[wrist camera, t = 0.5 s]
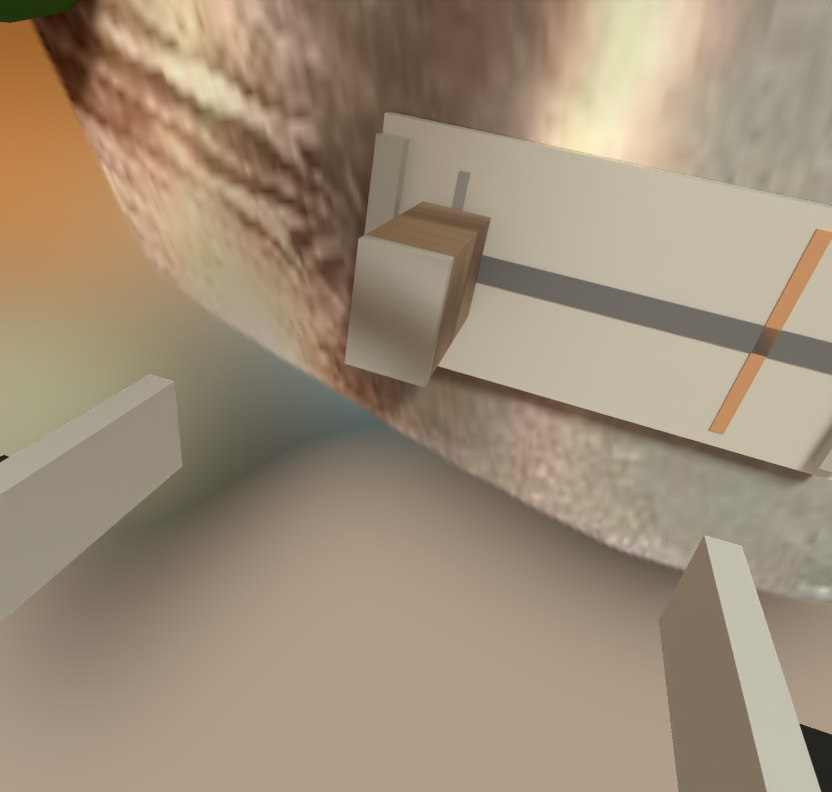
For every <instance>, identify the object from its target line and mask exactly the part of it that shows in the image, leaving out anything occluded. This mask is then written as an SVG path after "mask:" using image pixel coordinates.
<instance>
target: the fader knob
mask: <svg viewBox="0 0 832 792" xmlns="http://www.w3.org/2000/svg"><path fill="white" fill-rule="evenodd" d="M490 220H491V218H490V217H486V216H482V215H478V214H474V213H470V212H465V211H461V210H457V209H453V208H449V207H444V206H440V205H436V204H432V203H428V202H424V201H423V202H421V203H419V204H418V205H416V206H414V207H412V208H411V209H409V210H407V211H405V212H404V213H402V214H400V215H398V216H397V217H395V218H393V219H391V220H390V221H388V222H386V223H385V224H383V225H381V226H379V227H378V228H376V229H374V230H372V231H371V232H369V233H367V234H365V235H364V236H362V237H360V238H359V239H358V248H357V257H356V266H355V275H354V284H353V293H352V301H351V310H350V319H349V328H348V337H347V346H346V355H345V363H344V364H347V365H351V366H354V367H357V368H361V369H364V370H367V371H371V372H374V373H377V374H381V375H384V376H388V377H391V378H394V379H398V380H401V381H404V382H408V383H411V384H414V385H418V386H421V387H425V386H426V384H427V382H428V381H429V379H430V378H431V376H432V374H433V373H434V371H435V369H436V368H437V366H438V365H439V363H440V361H441V360H442V358H443V357H444V355H445V353H446V352H447V350H448V348H449V347H450V345H451V344H452V342H453V340H454V339H455V337H456V335H457V334H458V332H459V331H460V329H461V327H462V326H463V324H464V323H465V321H466V319H467V318H468V315H469V311H470V306H471V302H472V298H473V293H474V289H475V285H476V281H477V276H478V272H479V268H480V263H481V259H482V255H483V250H484V246H485V242H486V237H487V233H488V229H489V225H490Z"/></svg>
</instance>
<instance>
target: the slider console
mask: <svg viewBox="0 0 832 792" xmlns="http://www.w3.org/2000/svg"><path fill="white" fill-rule="evenodd" d="M423 201H424V202H428V203H432V204H436V205H440V206H444V207H449V208H453V209H457V210H461V211H465V212H470V213H474V214H478V215H482V216H486V217H490V218H491V220H490V225H489V229H488V233H487V237H486V242H485V246H484V250H483V255H482V259H481V263H480V268H479V272H478V276H477V281H476V285H475V289H474V293H473V298H472V302H471V306H470V311H469V315H468V318H467V319H466V321H465V323H464V324H463V326H462V327H461V329H460V331H459V332H458V334H457V335H456V337H455V339H454V340H453V342H452V344H451V345H450V347H449V348H448V350H447V352H446V353H445V355H444V357H443V358H442V360H441V361H440V363H439V365H438V366H439V367H443V368H446V369H450V370H453V371H457V372H460V373H464V374H467V375H470V376H474V377H477V378H481V379H484V380H488V381H491V382H495V383H498V384H501V385H505V386H508V387H512V388H515V389H519V390H522V391H526V392H529V393H533V394H536V395H539V396H543V397H546V398H550V399H553V400H557V401H560V402H564V403H567V404H570V405H574V406H577V407H581V408H584V409H588V410H591V411H595V412H598V413H601V414H605V415H608V416H612V417H615V418H619V419H622V420H626V421H629V422H633V423H636V424H639V425H643V426H646V427H650V428H653V429H657V430H660V431H664V432H667V433H670V434H674V435H677V436H681V437H684V438H688V439H691V440H695V441H698V442H701V443H705V444H708V445H712V446H715V447H719V448H722V449H726V450H729V451H732V452H736V453H739V454H743V455H746V456H750V457H753V458H757V459H760V460H764V461H767V462H770V463H774V464H777V465H781V466H784V467H788V468H791V469H795V470H798V471H801V472H805V473H808V474H812V475H815V476H819V477H822V478H826V479H829V480H832V205H827V204H822V203H818V202H813V201H808V200H804V199H799V198H794V197H790V196H785V195H780V194H775V193H771V192H766V191H761V190H757V189H752V188H747V187H743V186H738V185H733V184H729V183H724V182H719V181H714V180H710V179H705V178H700V177H696V176H691V175H686V174H682V173H677V172H672V171H667V170H663V169H658V168H653V167H649V166H644V165H639V164H635V163H630V162H625V161H620V160H616V159H611V158H606V157H602V156H597V155H592V154H588V153H583V152H578V151H573V150H569V149H564V148H559V147H555V146H550V145H545V144H541V143H536V142H531V141H527V140H522V139H517V138H512V137H508V136H503V135H498V134H494V133H489V132H484V131H480V130H475V129H470V128H465V127H461V126H456V125H451V124H447V123H442V122H437V121H433V120H428V119H423V118H418V117H414V116H409V115H404V114H400V113H395V112H390V113H385V116H384V125H383V133H378V134H376V140H375V149H374V157H373V166H372V174H371V183H370V191H369V199H368V208H367V216H366V225H365V233H364V235H365V234H367V233H369V232H371V231H372V230H374V229H376V228H378V227H379V226H381V225H383V224H385V223H386V222H388V221H390V220H391V219H393V218H395V217H397V216H398V215H400V214H402V213H404V212H405V211H407V210H409V209H411V208H412V207H414V206H416V205H418V204H419V203H421V202H423Z"/></svg>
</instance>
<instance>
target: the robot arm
mask: <svg viewBox="0 0 832 792" xmlns="http://www.w3.org/2000/svg"><path fill="white" fill-rule="evenodd" d="M181 467H182V456H181V445H180V433H179V421H178V409H177V399H176V386H175V381H173V380H169V379H166V378H162V377H159V376H155V375H152V374H148V375H147V376H145V377H143V378H142V379H140V380H138V381H137V382H135V383H133V384H132V385H130V386H128V387H126V388H125V389H123V390H121V391H120V392H118V393H116V394H115V395H113V396H111V397H110V398H108V399H106V400H105V401H103V402H101V403H99V404H98V405H96V406H95V407H93V408H91V409H89V410H88V411H86V412H84V413H83V414H81V415H79V416H78V417H76V418H74V419H73V420H71V421H69V422H68V423H66V424H64V425H63V426H61V427H59V428H57V429H56V430H54V431H53V432H51V433H49V434H47V435H46V436H44V437H42V438H41V439H39V440H37V441H36V442H34V443H32V444H30V445H29V446H27V447H25V448H24V449H22V450H21V451H19V452H17V453H15V454H14V455H12V456H10V457H8V456H5V455H3V456H1V457H0V623H1V622H2V621H3V620H4V619H6V618H7V617H8V616H9V615H10V614H11V613H12V612H14V611H15V610H16V609H17V608H18V607H19V606H21V605H22V604H23V603H24V602H25V601H26V600H28V599H29V598H30V597H31V596H32V595H33V594H34V593H36V592H37V591H38V590H39V589H40V588H41V587H42V586H44V585H45V584H46V583H47V582H48V581H49V580H51V579H52V578H53V577H54V576H55V575H56V574H58V573H59V572H60V571H61V570H62V569H64V568H65V567H66V566H67V565H68V564H69V563H70V562H72V561H73V560H74V559H75V558H76V557H77V556H78V555H80V554H81V553H82V552H83V551H84V550H86V549H87V548H88V547H89V546H90V545H91V544H93V543H94V542H95V541H96V540H97V539H98V538H99V537H100V536H102V535H103V534H104V533H105V532H106V531H108V530H109V529H110V528H111V527H112V526H113V525H115V524H116V523H117V522H118V521H119V520H120V519H122V518H123V517H124V516H125V515H126V514H127V513H128V512H129V511H131V510H132V509H133V508H134V507H135V506H137V505H138V504H139V503H140V502H141V501H142V500H144V499H145V498H146V497H147V496H148V495H149V494H151V492H153V491H154V490H155V489H156V488H157V487H159V486H160V485H161V484H162V483H163V482H164V481H166V480H167V479H168V478H169V477H170V476H171V475H172V474H174V473H175V472H176V471H177V470H178V469H179V468H181ZM659 626H660V634H661V643H662V652H663V660H664V669H665V678H666V686H667V695H668V704H669V712H670V721H671V729H672V738H673V747H674V755H675V764H676V773H677V781H678V789H679V792H832V735H831V734H828V733H825V732H822V731H819V730H816V729H814V728H810V727H807V726H805V725H802V724H799V722H798V719H797V716H796V713H795V709H794V706H793V703H792V700H791V697H790V694H789V691H788V688H787V685H786V682H785V679H784V675H783V672H782V669H781V666H780V664H779V660H778V657H777V654H776V651H775V648H774V645H773V642H772V638H771V636H770V632H769V629H768V626H767V623H766V620H765V617H764V614H763V610H762V607H761V604H760V601H759V598H758V595H757V592H756V589H755V586H754V583H753V580H752V576H751V573H750V570H749V567H748V564H747V561H746V558H745V555H744V552H743V549H742V546H740V545H736V544H733V543H730V542H726V541H723V540H719V539H716V538H712V537H709V536H705V535H704V537H703V538H702V540H701V542H700V544H699V546H698V548H697V549H696V551H695V553H694V555H693V557H692V559H691V561H690V562H689V564H688V566H687V568H686V570H685V572H684V574H683V575H682V577H681V579H680V581H679V583H678V585H677V586H676V588H675V590H674V592H673V594H672V596H671V597H670V599H669V601H668V603H667V605H666V607H665V609H664V610H663V612H662V614H661V616H660V618H659Z"/></svg>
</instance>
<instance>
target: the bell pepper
mask: <svg viewBox="0 0 832 792" xmlns="http://www.w3.org/2000/svg"><path fill="white" fill-rule="evenodd" d="M77 1H78V0H0V22H9V23H11V22H16V21H22V20H27V19H33V18H38V17H43V16H49V15H53V14H57V13H61V12H65V11H68V10H71V8H72V7H73V6H74V5H75V4H76V3H77Z"/></svg>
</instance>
